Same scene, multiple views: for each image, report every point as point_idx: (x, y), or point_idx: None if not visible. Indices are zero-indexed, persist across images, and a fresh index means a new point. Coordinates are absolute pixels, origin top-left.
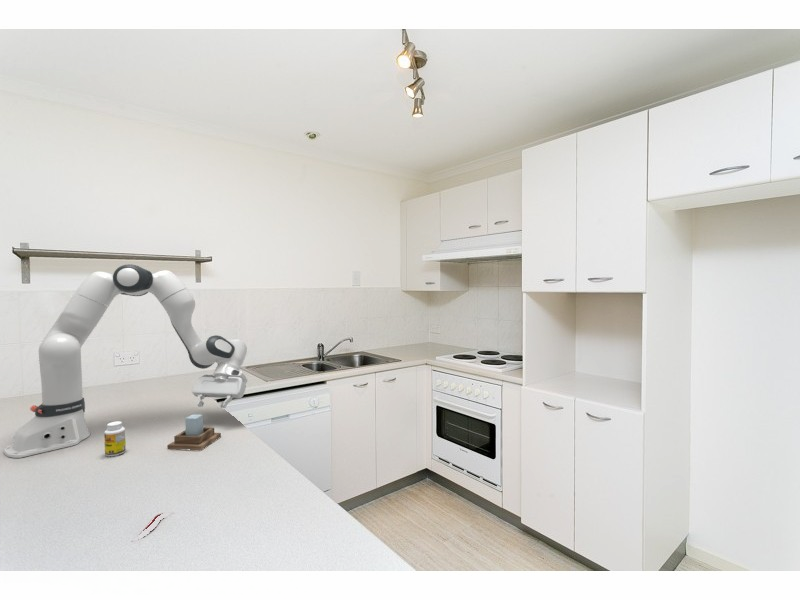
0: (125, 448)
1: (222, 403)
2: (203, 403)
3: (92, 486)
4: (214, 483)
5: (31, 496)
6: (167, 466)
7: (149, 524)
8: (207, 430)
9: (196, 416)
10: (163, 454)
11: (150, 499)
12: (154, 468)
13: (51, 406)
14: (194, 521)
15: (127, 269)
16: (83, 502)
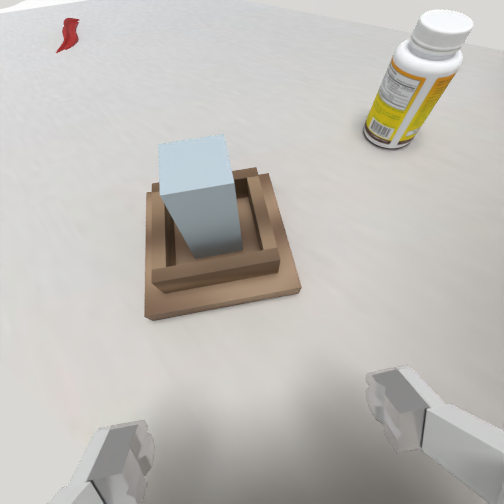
0: (376, 136)
1: (112, 449)
2: (389, 432)
3: (259, 57)
4: (24, 108)
5: (321, 29)
6: (180, 126)
7: (64, 21)
8: (162, 244)
9: (180, 166)
10: (249, 161)
11: (119, 60)
12: (204, 114)
13: None
14: (14, 49)
15: None
16: (221, 37)
